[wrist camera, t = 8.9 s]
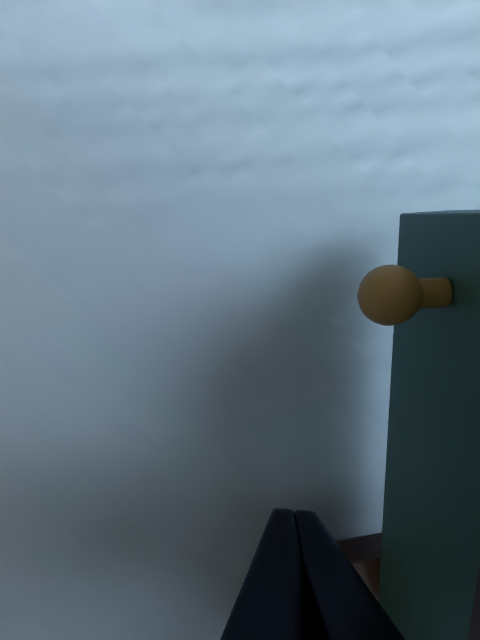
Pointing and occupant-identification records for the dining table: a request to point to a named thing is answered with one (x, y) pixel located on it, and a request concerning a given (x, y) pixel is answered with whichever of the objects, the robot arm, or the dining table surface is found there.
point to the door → (432, 425)
